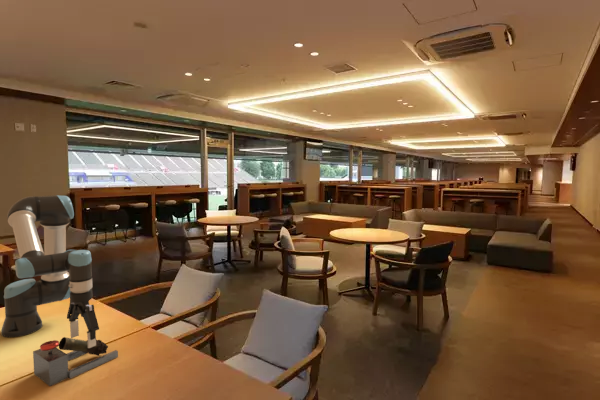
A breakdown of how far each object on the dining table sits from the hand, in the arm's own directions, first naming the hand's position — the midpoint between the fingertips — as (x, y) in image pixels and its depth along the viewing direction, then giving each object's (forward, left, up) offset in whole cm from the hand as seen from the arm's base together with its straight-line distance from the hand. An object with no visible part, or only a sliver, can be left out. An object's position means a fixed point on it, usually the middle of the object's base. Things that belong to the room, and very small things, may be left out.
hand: (83, 341), depth 137 cm
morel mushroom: (+1, -1, -4) cm, 4 cm away
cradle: (0, -3, -8) cm, 9 cm away
